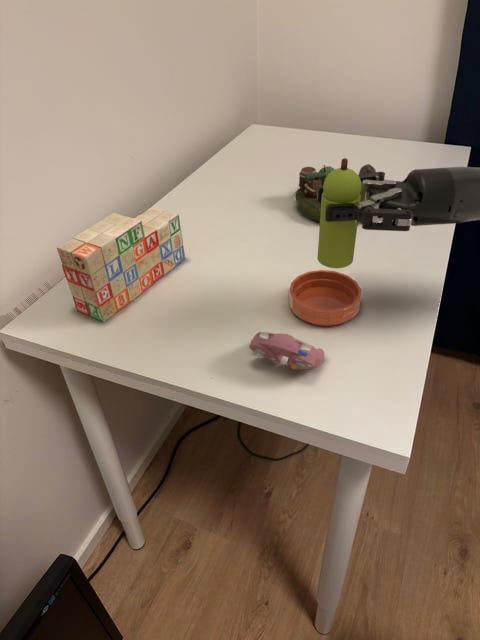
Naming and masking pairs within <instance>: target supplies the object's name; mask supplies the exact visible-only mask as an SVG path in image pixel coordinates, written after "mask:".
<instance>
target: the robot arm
mask: <svg viewBox="0 0 480 640" xmlns="http://www.w3.org/2000/svg"><path fill="white" fill-rule="evenodd" d="M358 176H359V178H360V180H361V192H360V195H361V201H360V202H359V203H356V206H355V204H354V203H341V204H328V205H327V206H326V207H325V219H326V221H327V222H335V221H351V220H354V222H355V223H358V224H361V228H362V229H363V230H366V231H388V232H389V231H391V232H409V231H410V230H411V226H412V227H421V226H437V225H438V226H439V225H453V224H464V223H469V222H474V221H475V222H476V221H480V167H472V166H452V167H435V168H434V167H433V168H419V169H417V168H416V169H413V170H411V171H410V172H408V174H407V176H406V177H405V178H404V180H402V181H400V180H393V179H385V177H386V173H385V172H384V171H376V172H374V173H368V174H361V175H359V174H358ZM368 192H369V196H368V199H367V198H366V193H368ZM322 193H323V186H320V187H318V191H317V199H318V202H320V203H321V200H322Z"/></svg>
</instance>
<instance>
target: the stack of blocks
mask: <svg viewBox="0 0 480 640" xmlns="http://www.w3.org/2000/svg"><path fill="white" fill-rule="evenodd" d="M56 250H57V253H58V256H59V259H60V262H61V269H62V271H63V273H64V277H65V280H66V281H67V284H68V288H69V290H70V293H71V297H72V300H73V303H74V306H75V310H76V311H77V312H79V313H81V314H84V315H86V316H87V317H91V318H93V319H95V320H98V321H100V322H102V323H105V322H106V321H108V320H109V319H110V318H111V317H113V316H114V315H115V314H117V313H118V312H120V311H121V310H123V308H124V307H126V306H127V305H129V304H130V303H131V302H132V301H134V300H135V299H136V298H138V297H139V296H141V294H142V293H143V292H145V291H146V290H147V289H148V288H150V287H151V286H153V284H154V283H156V282H157V281H158V280H160V279H161V278H162V277H163V276H164V275H166V274H168V273H169V272H170V271H172V270H174V268H175V267H177V266H178V265H179V264H181V263H182V262H183V261H185V259H186V256H185V246H184V238H183V232H182V226H181V220H180V215H179V213H176V212H171V211H169V210H164V209H160V208H156V207H153V206H152V207H150V208H149V209H146V211H144V212H142V213H141V214H139V215H137V216H135V217H134V218H133V217H130V216H125V215H122V214H119V213H115V212H113V213H111V214H109V215H107V216H106V217H104V218H103V219H101V220H100V221H98V222H96V223H95V224H93V225H91V226H90V227H88V228H87V229H85V230H83V231H81V232H80V233H78V234H76V235H75V236H73V237H72V238H69V239H68V240H66V241H64V242H62V243H61V244H59V245H57V247H56Z"/></svg>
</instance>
